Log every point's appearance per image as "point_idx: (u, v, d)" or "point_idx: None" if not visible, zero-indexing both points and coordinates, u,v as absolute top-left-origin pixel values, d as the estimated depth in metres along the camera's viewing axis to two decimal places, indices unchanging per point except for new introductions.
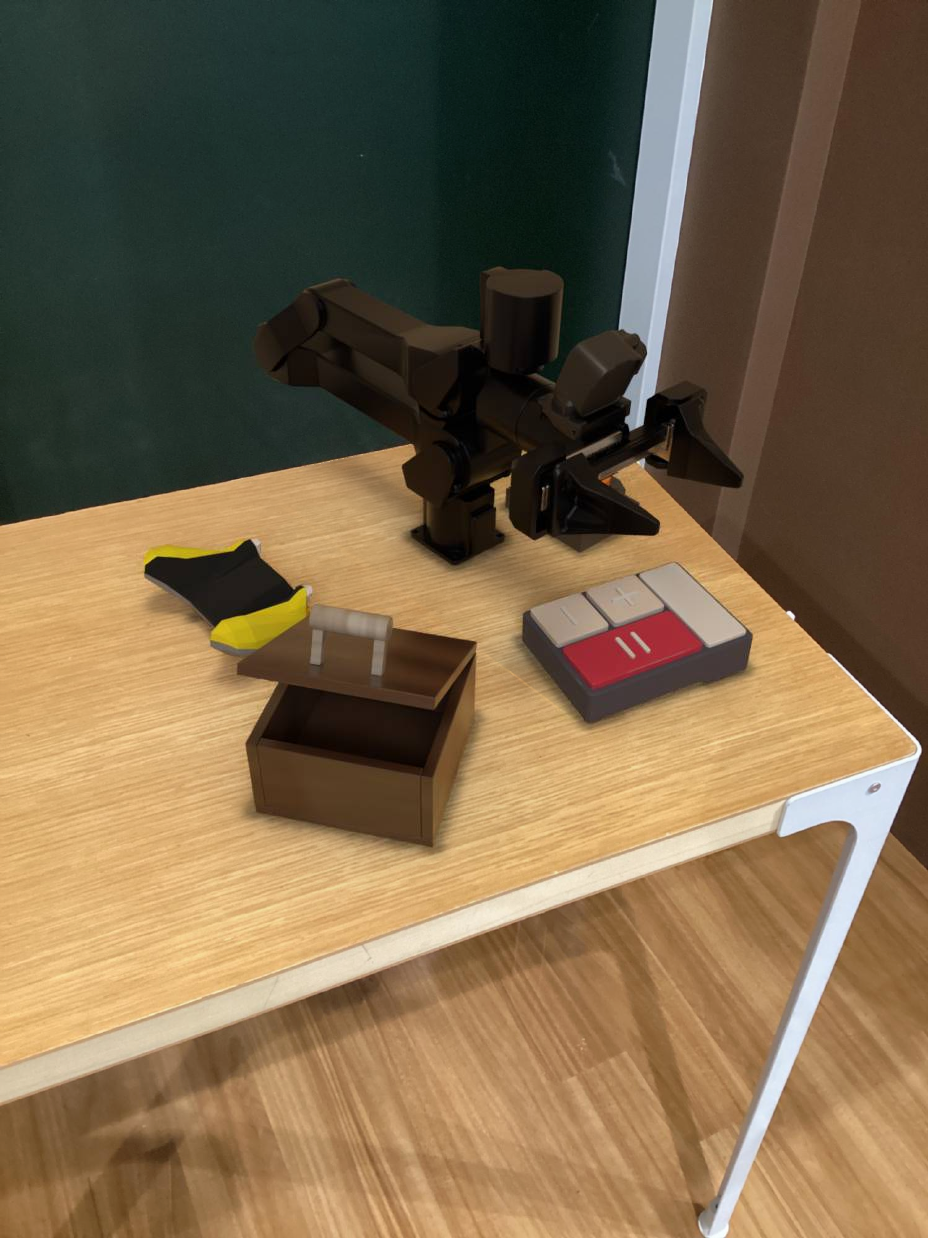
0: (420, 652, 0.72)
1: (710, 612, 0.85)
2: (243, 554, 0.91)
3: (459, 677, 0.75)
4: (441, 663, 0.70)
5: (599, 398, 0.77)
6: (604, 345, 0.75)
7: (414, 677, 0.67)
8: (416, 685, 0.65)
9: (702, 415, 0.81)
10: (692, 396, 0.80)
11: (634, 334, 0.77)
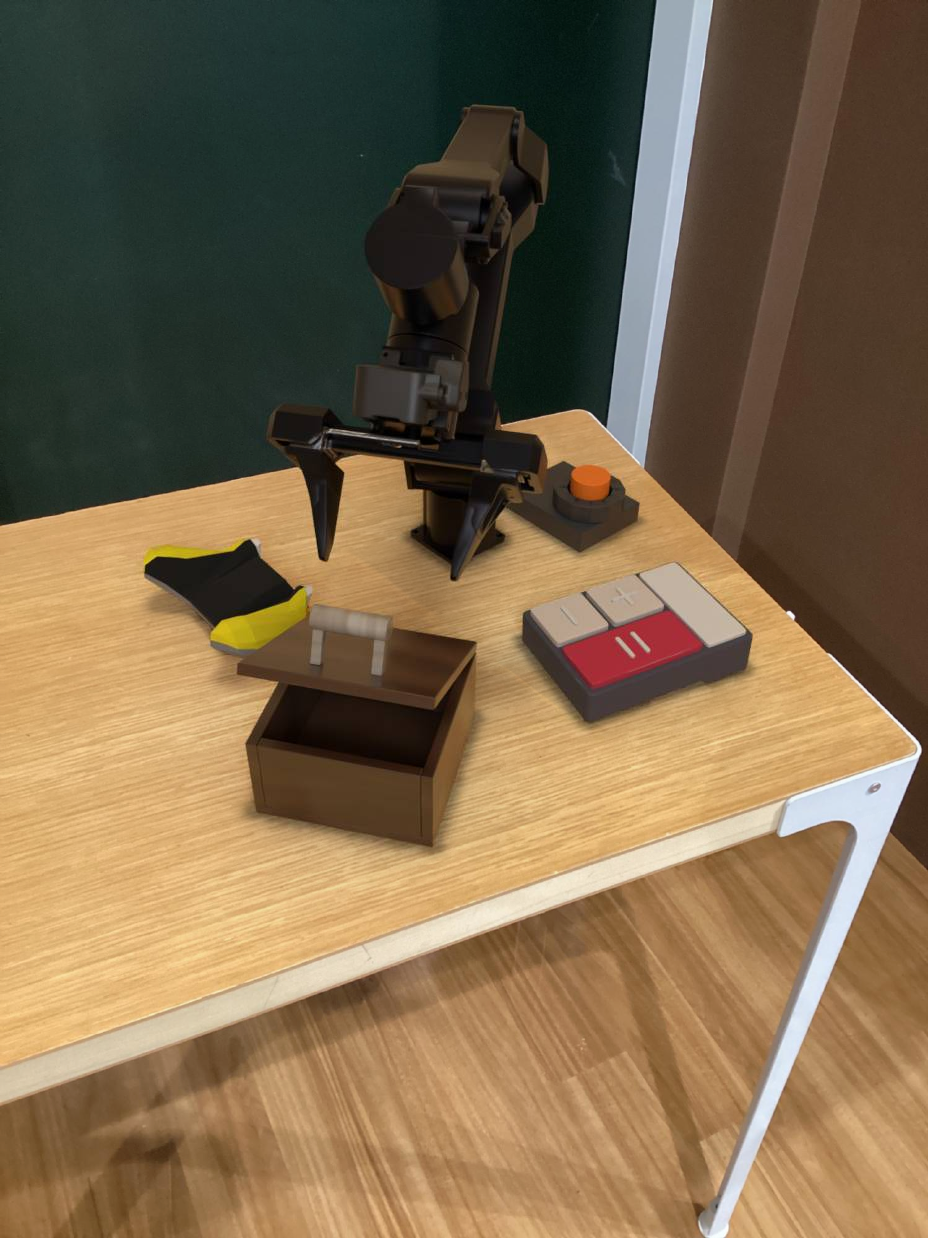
0: (420, 652, 0.72)
1: (710, 612, 0.85)
2: (243, 554, 0.91)
3: (459, 677, 0.75)
4: (441, 663, 0.70)
5: None
6: (386, 386, 0.65)
7: (414, 677, 0.67)
8: (416, 685, 0.65)
9: (513, 488, 0.70)
10: (508, 469, 0.69)
11: (439, 392, 0.65)
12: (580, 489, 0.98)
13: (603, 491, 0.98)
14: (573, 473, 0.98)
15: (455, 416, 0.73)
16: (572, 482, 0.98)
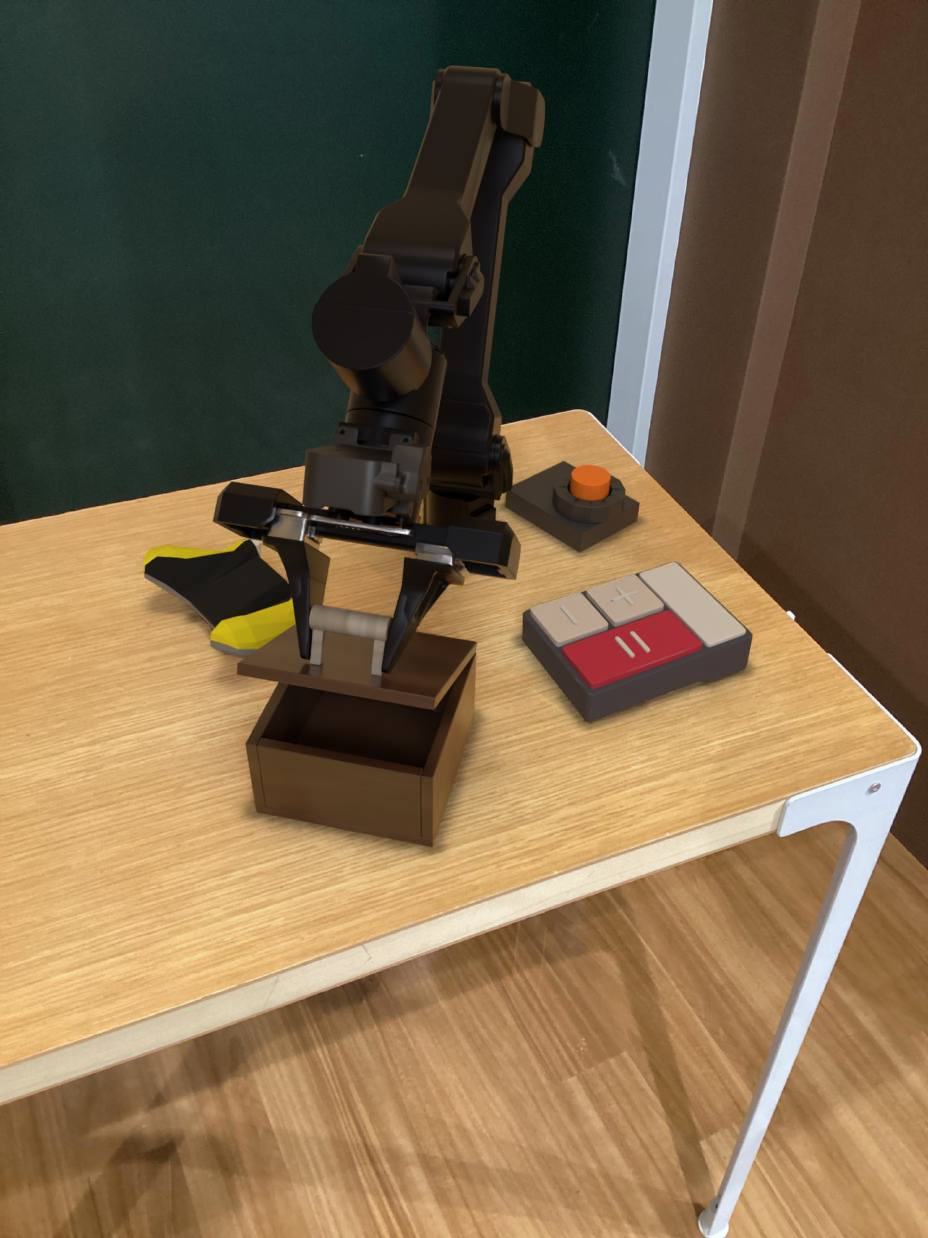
0: (420, 652, 0.72)
1: (710, 612, 0.85)
2: (243, 554, 0.91)
3: (459, 677, 0.75)
4: (441, 663, 0.70)
5: None
6: (338, 475, 0.59)
7: (414, 677, 0.67)
8: (416, 685, 0.65)
9: (450, 575, 0.65)
10: (474, 561, 0.63)
11: (396, 482, 0.59)
12: (580, 489, 0.98)
13: (603, 491, 0.98)
14: (573, 473, 0.98)
15: None
16: (572, 482, 0.98)
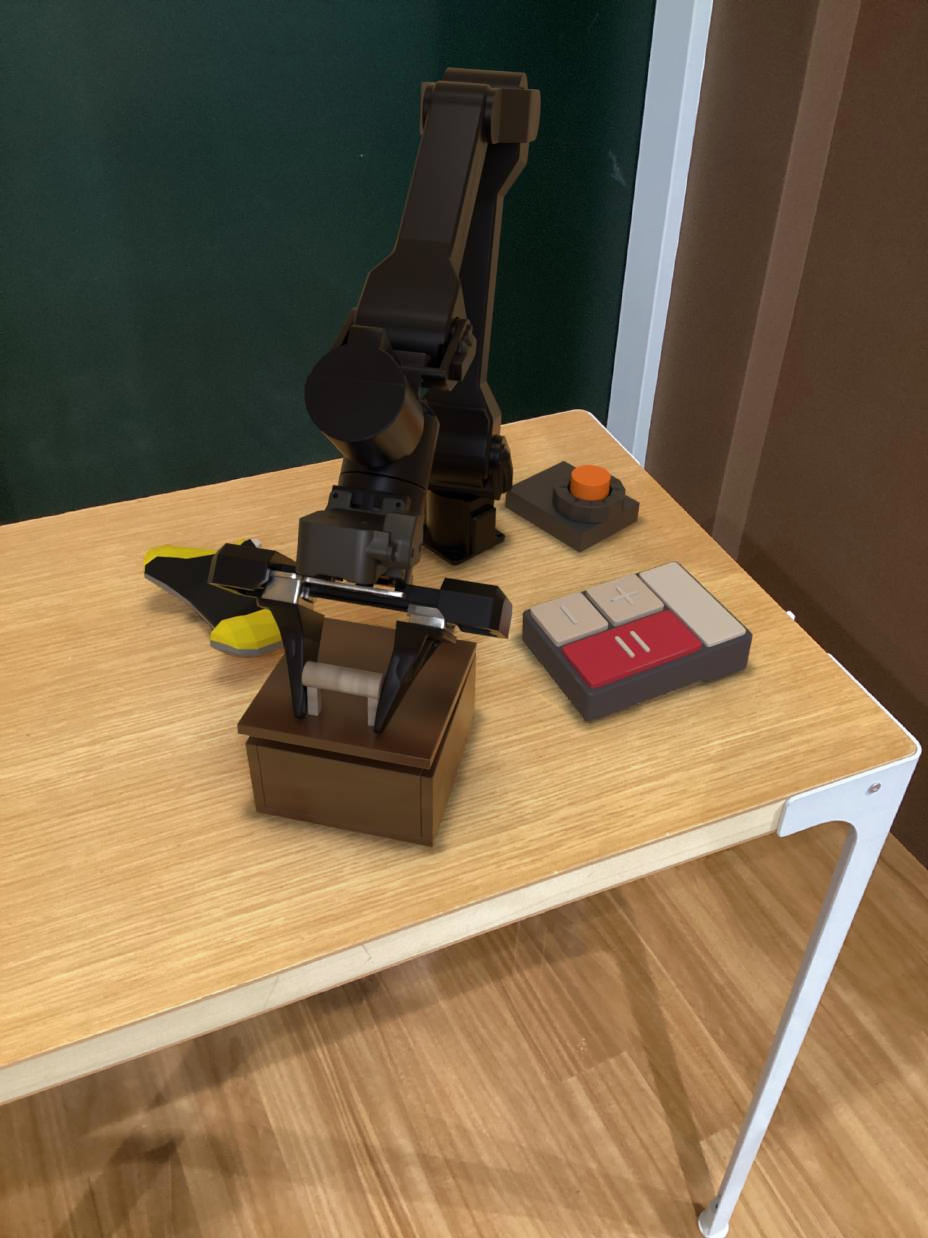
0: (418, 674, 0.73)
1: (710, 612, 0.85)
2: None
3: None
4: (438, 692, 0.71)
5: None
6: (331, 544, 0.60)
7: (411, 724, 0.68)
8: (412, 739, 0.67)
9: (441, 637, 0.65)
10: (466, 625, 0.64)
11: (388, 551, 0.60)
12: (580, 489, 0.98)
13: (603, 491, 0.98)
14: (573, 473, 0.98)
15: None
16: (572, 482, 0.98)
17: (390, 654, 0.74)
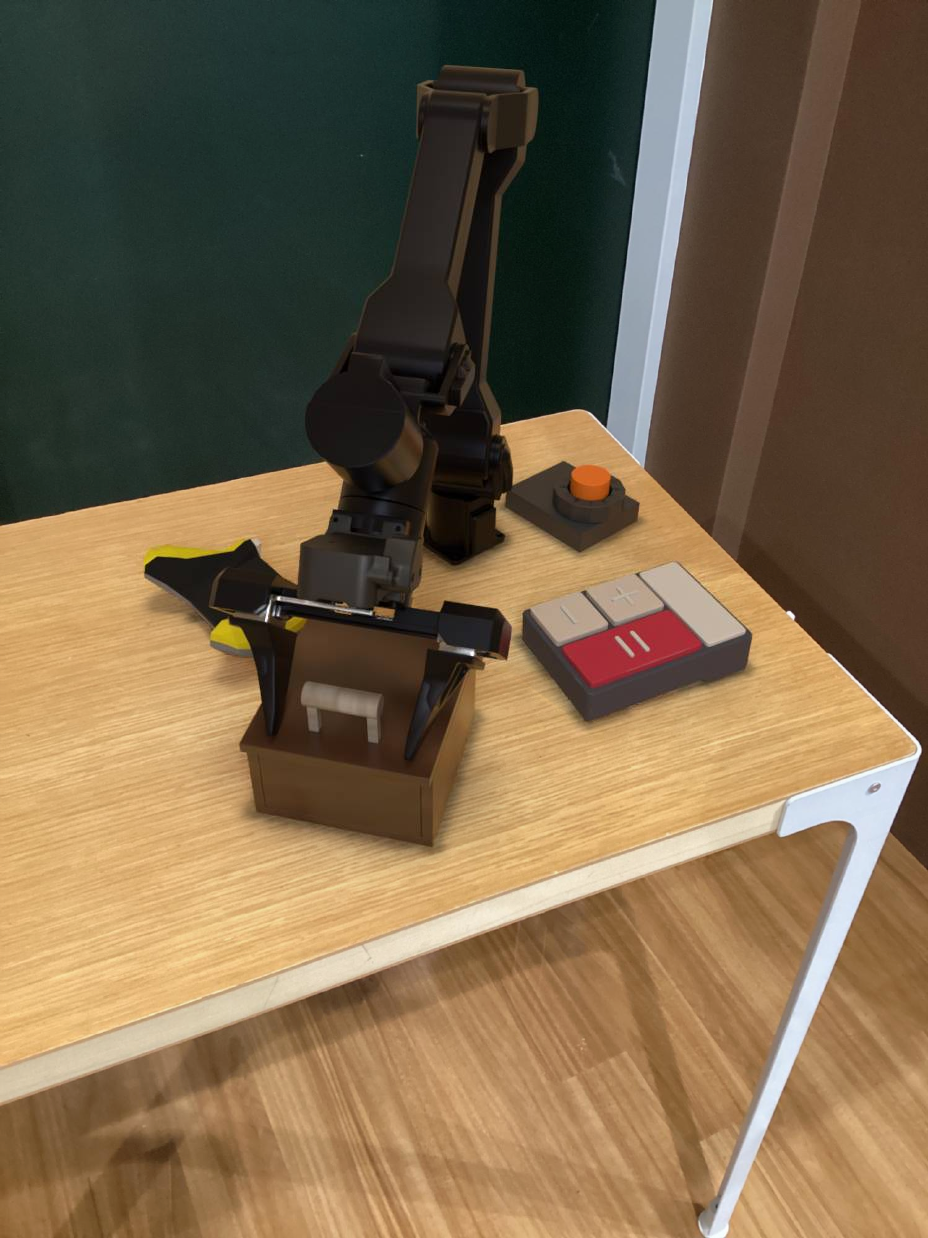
0: (418, 681, 0.73)
1: (710, 611, 0.85)
2: (243, 554, 0.91)
3: None
4: None
5: None
6: (332, 568, 0.61)
7: None
8: None
9: (472, 665, 0.65)
10: (466, 648, 0.64)
11: (389, 576, 0.60)
12: (580, 489, 0.98)
13: (603, 491, 0.98)
14: (573, 473, 0.98)
15: None
16: (572, 482, 0.98)
17: (390, 659, 0.75)
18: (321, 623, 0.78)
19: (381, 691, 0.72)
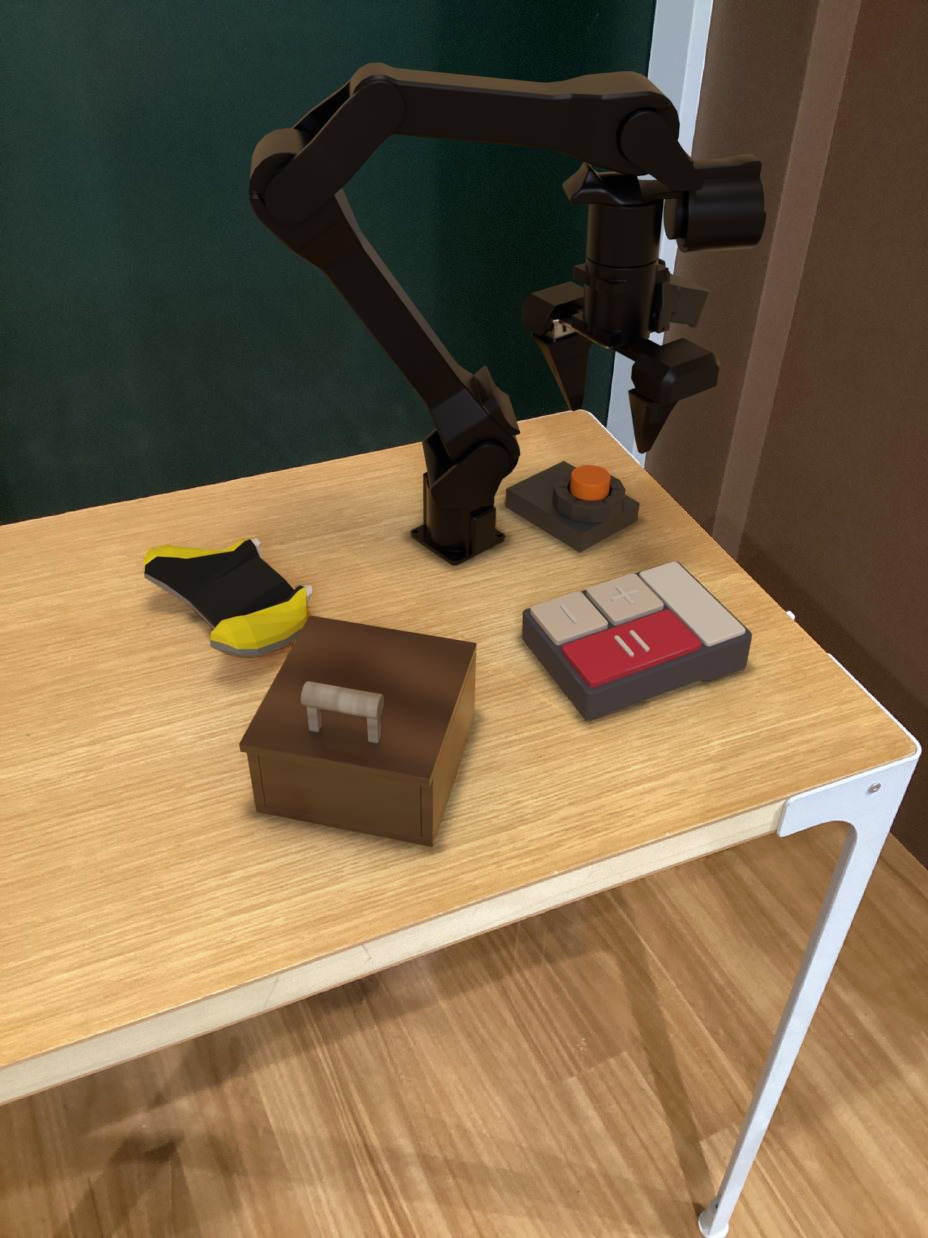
0: (418, 681, 0.73)
1: (710, 611, 0.85)
2: (243, 554, 0.91)
3: None
4: (438, 701, 0.71)
5: None
6: None
7: (410, 739, 0.69)
8: (412, 756, 0.68)
9: None
10: None
11: None
12: (580, 489, 0.98)
13: (603, 491, 0.98)
14: (573, 473, 0.98)
15: None
16: (572, 482, 0.98)
17: (390, 659, 0.75)
18: (321, 623, 0.78)
19: (381, 691, 0.72)
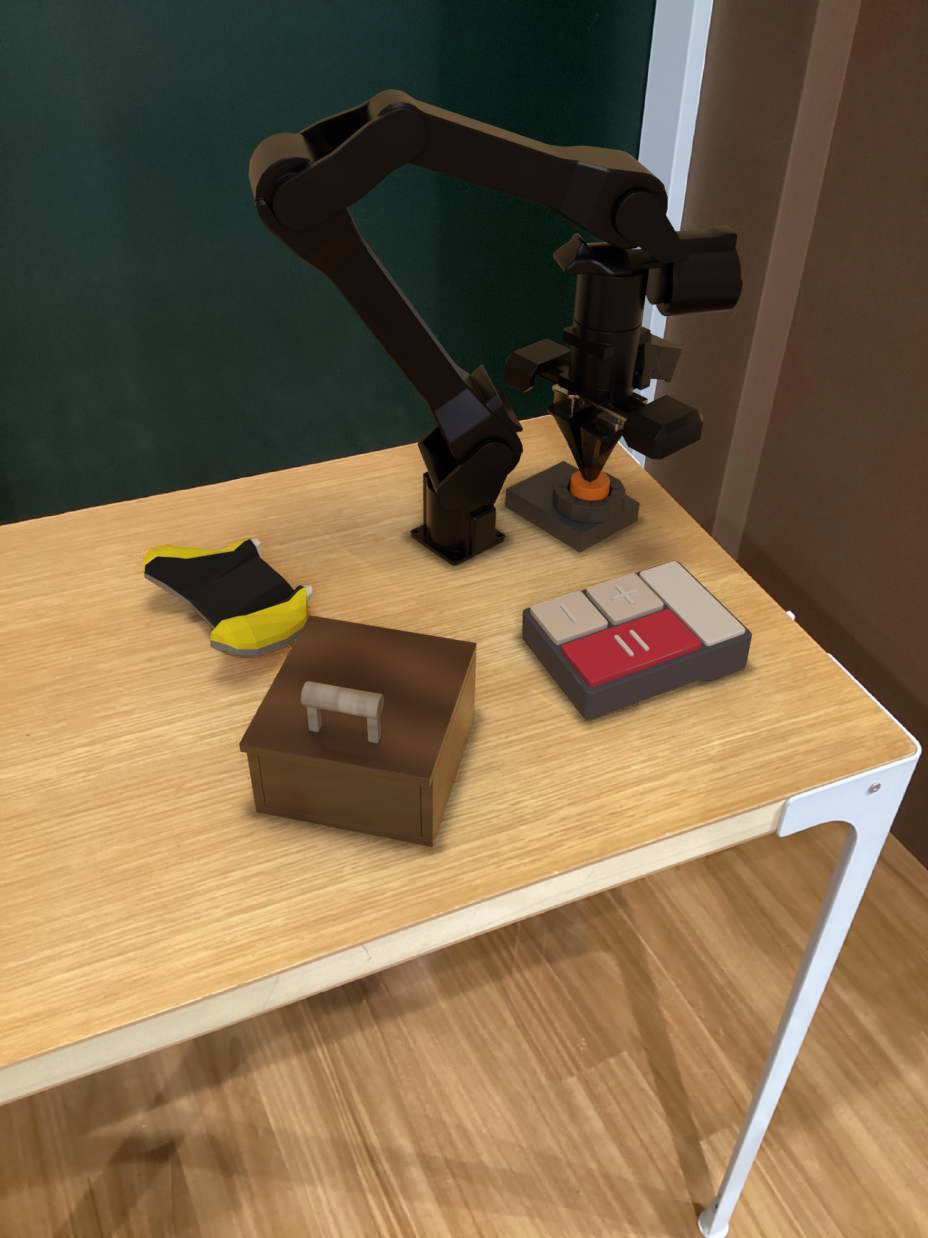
0: (418, 681, 0.73)
1: (709, 611, 0.85)
2: (243, 554, 0.91)
3: None
4: (438, 701, 0.71)
5: None
6: None
7: (410, 739, 0.69)
8: (412, 756, 0.68)
9: None
10: None
11: None
12: (580, 493, 0.98)
13: (603, 495, 0.98)
14: (572, 477, 0.99)
15: None
16: (572, 486, 0.98)
17: (390, 659, 0.75)
18: (321, 623, 0.78)
19: (381, 691, 0.72)
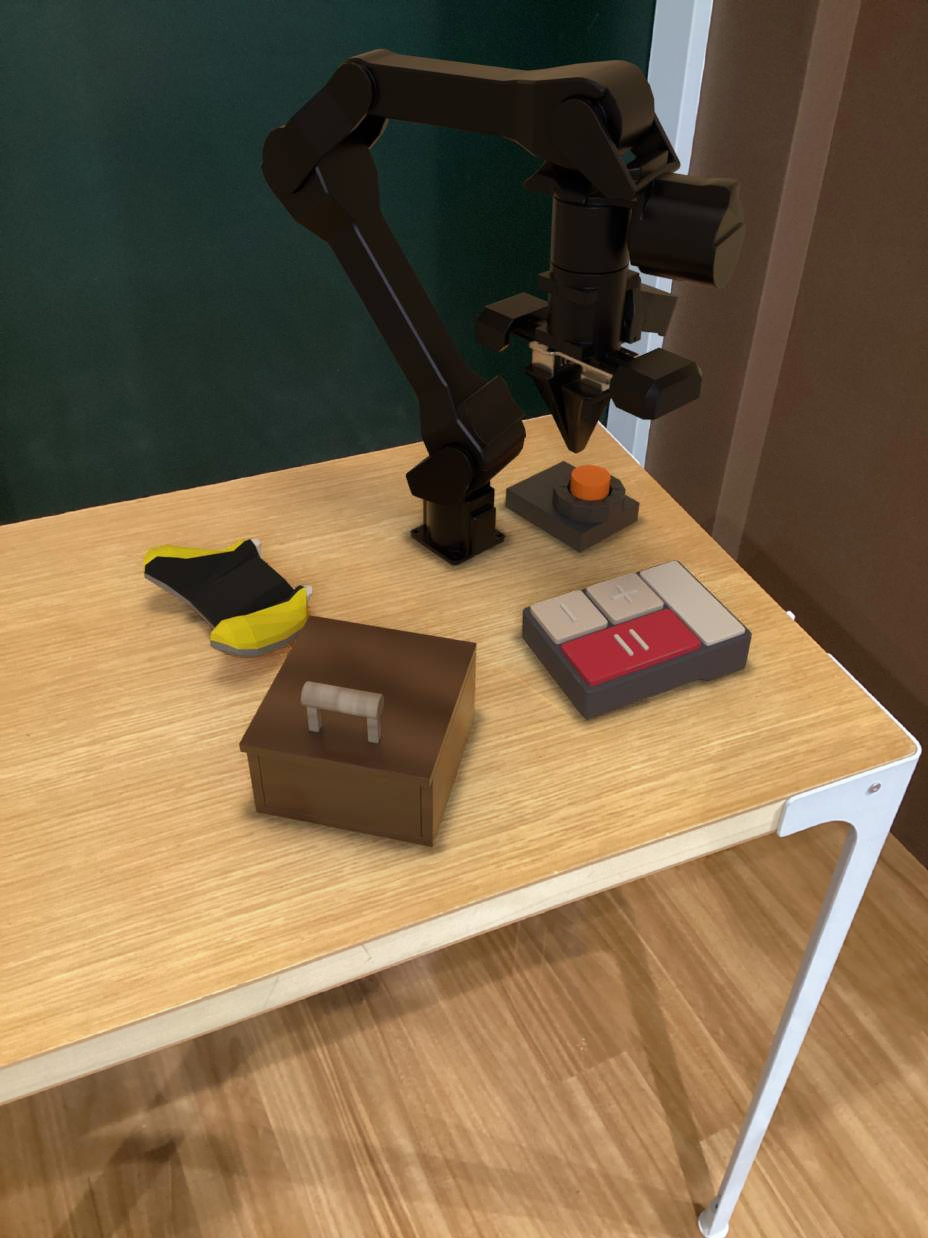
0: (418, 681, 0.73)
1: (709, 610, 0.85)
2: (243, 554, 0.91)
3: None
4: (438, 701, 0.71)
5: None
6: None
7: (410, 739, 0.69)
8: (412, 756, 0.68)
9: None
10: None
11: None
12: (580, 489, 0.98)
13: (603, 491, 0.98)
14: (573, 473, 0.98)
15: None
16: (572, 482, 0.98)
17: (390, 659, 0.75)
18: (321, 623, 0.78)
19: (381, 691, 0.72)
